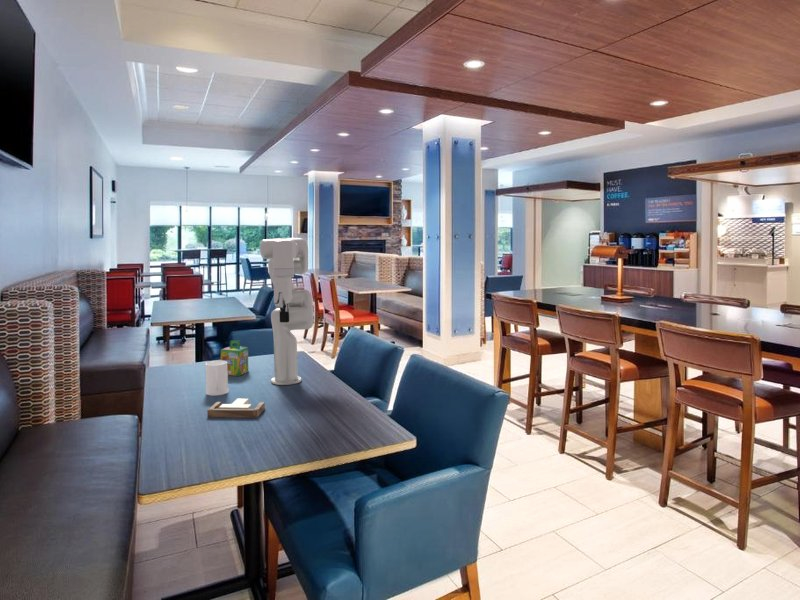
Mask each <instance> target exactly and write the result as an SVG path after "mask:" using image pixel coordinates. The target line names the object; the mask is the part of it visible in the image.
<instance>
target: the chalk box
mask: <svg viewBox="0 0 800 600" xmlns="http://www.w3.org/2000/svg"><path fill="white" fill-rule="evenodd" d="M233 344H236V346H235V345H233ZM220 360H222V361H227V372H228V376H230V375H231V376H232V377H240V376H242V375H244V374H246V373H248V372H249V347H247V346H241V340H230V341H229V346H227V347H224V348H222V349H220ZM247 371H248V372H247ZM245 372H246V373H245Z"/></svg>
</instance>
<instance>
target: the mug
mask: <svg viewBox="0 0 800 600" xmlns="http://www.w3.org/2000/svg"><path fill="white" fill-rule="evenodd" d="M228 378H229V375H228V372H227V361H222V360H221V359H220V360H212V361H207V362H205V384H206V385H205V394H206V395H207V396H222V395H226V394H228V393H229V391H230V389H229V379H228Z"/></svg>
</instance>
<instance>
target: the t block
mask: <svg viewBox="0 0 800 600" xmlns="http://www.w3.org/2000/svg"><path fill="white" fill-rule="evenodd" d="M249 400H250V399H249V398H240V397H239V398H238V397H237V398H236V399H235V400H234V401H233V402H232V403H221V406H220V407H219V409H252V404H251V403H250V402H249Z"/></svg>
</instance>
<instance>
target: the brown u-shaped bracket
mask: <svg viewBox="0 0 800 600" xmlns="http://www.w3.org/2000/svg"><path fill="white" fill-rule="evenodd" d="M221 405H222V401H216V402H215V403H214V404H213V405H212V406H210V407H209V408H208V409H207V414H206V416H207V418H247V419H248V418H259V417H260V415H261V414H262V413H263V412H264V410H265V401H260V402H259V403H258V404H257V405H256V407H255V408H251V409H219V407H220V406H221Z"/></svg>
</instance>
